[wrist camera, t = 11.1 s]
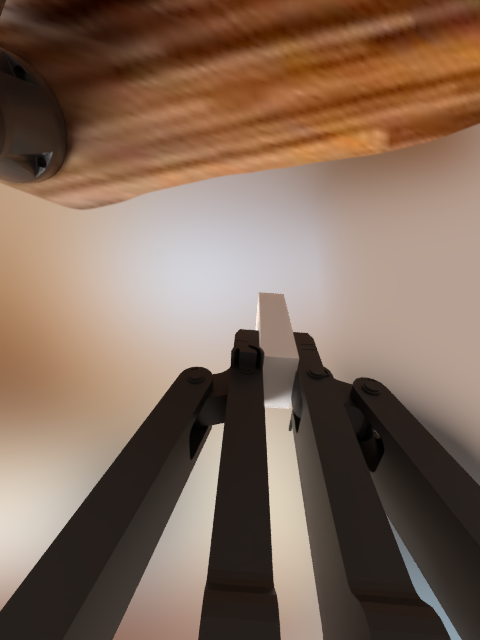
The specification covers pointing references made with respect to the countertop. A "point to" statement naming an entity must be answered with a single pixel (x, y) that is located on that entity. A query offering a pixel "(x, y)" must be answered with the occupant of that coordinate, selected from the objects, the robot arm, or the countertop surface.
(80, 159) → the countertop surface
